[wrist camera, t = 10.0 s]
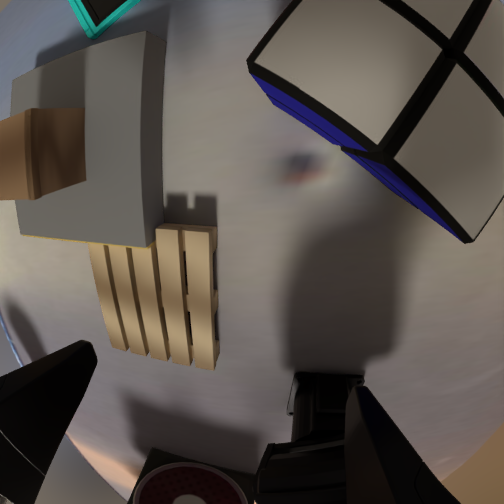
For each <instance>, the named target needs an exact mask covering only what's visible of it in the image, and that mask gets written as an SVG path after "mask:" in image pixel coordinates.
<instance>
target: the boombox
mask: <svg viewBox="0 0 504 504" xmlns="http://www.w3.org/2000/svg"><path fill="white" fill-rule="evenodd" d="M254 477H255V474H251V473H245V472H240V471H235V470H230V469H225V468H221V467H217V466H213V465H209V464H205V463H201V462H197V461H194V460H190V459H187V458H183V457H180V456H177V455H173V454H170V453H167V452H164V451H161V450H159V449H156V448H153V447H152V448H151V451H150V453H149V455H148V457H147V460H146V462H145V464H144V466H143V469H142V471H141V473H140V476H139V478H138V480H137V482H136V485H135V487H134V489H133V491H132V494H131V496H130V498H129V501H128V503H127V504H254V501H255V499H254V494H253V490H252V487H253V485H252V482H253V479H254Z"/></svg>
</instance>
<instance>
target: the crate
mask: <svg viewBox="0 0 504 504" xmlns="http://www.w3.org/2000/svg"><path fill="white" fill-rule="evenodd" d="M84 181H87V179H86V162H85V108H46V109H38V108H30V109H27V110H25V111H24V112H22V113H19V114H16V115H14V116H11V117H9V118H7V119H4V120H2V121H0V200H25V199H29V200H36V199H39V198H42V196H44V195H47V194H49V193H52V192H55V191H58V190H61V189H63V188H66V187H69V186H72V185H75V184H78V183H81V182H84Z"/></svg>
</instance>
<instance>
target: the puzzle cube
mask: <svg viewBox="0 0 504 504" xmlns="http://www.w3.org/2000/svg"><path fill="white" fill-rule="evenodd" d="M246 61H247V65H248V69H249V73H250V74H251V75H252V77H253V78H254V79H255V81H256V82H257V83H258V85H259V86H260V87H261V88H262V90H263V91H264V92H265V93H266V95H267V96H268V98H269V99H270V100H271V102H272V103H273V105H275V106H277V107H278V108H280V109H281V110H283V111H285V112H286V113H288V114H289V115H291V116H293V117H294V118H296V119H297V120H299V121H300V122H302V123H303V124H305V125H306V126H308V127H309V128H311V129H312V130H314V131H315V132H316V133H318V134H319V135H321V136H322V137H324V138H325V139H326V140H328V141H329V142H331V143H332V144H335V145H339V146H341V150H342V151H343V152H344V153H346V154H347V155H348V156H350V157H351V158H352V159H354V160H355V161H356V162H357V163H359V164H360V165H361V166H362V167H364V168H365V169H366V170H367V171H369V172H370V173H371V174H372V175H374V176H375V177H376V178H377V179H378V180H380V181H381V182H382V183H383V184H384V185H386V186H387V187H388V188H389V189H390V190H391V191H393V192H394V193H395V194H397V195H398V196H400V197H401V198H403V199H404V200H406V201H407V202H409V203H410V204H411V205H413V206H414V207H416V208H417V209H420V210H421V211H422V212H423V213H424V214H426V215H427V216H429V217H430V218H431V219H433V220H434V221H435V222H437V223H438V224H440V225H441V226H442V227H444V228H445V229H446V230H447V231H449V232H450V233H451V234H453V235H454V236H455V237H457V238H458V239H459V240H460V241H462V242H463V243H464V244H466V243H472V242H474V241H475V239H476V238H477V237H478V235H479V234H480V233H481V231H482V230H483V228H484V227H485V225H486V224H487V222H488V221H489V220H490V218H491V217H492V215H493V214H494V212H495V211H496V209H497V207H498V206H499V204H500V203H501V201H502V200H503V198H504V5H503V4H502V2H501V1H500V0H293V1H292V2H291V3H290V4H289V5H288V7H287V8H286V9H285V10H284V11H283V13H282V14H281V15H280V16H279V17H278V19H277V20H276V21H275V22H274V24H273V25H272V26H271V27H270V29H269V30H268V31H267V33H266V34H265V35H264V37H263V38H262V39H261V41H260V42H259V43H258V45H257V46H256V47H255V49H254V50H253V51H252V53H251V54H250V55H249V57H248V58H247V60H246Z"/></svg>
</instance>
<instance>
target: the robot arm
mask: <svg viewBox="0 0 504 504" xmlns="http://www.w3.org/2000/svg"><path fill="white" fill-rule="evenodd" d="M96 365H97V356H96V353H95V351H94V348H93V345H92V343H91V342H88V341H85V340H79V341H77V342H75V343H73V344H71V345H69V346H67V347H64V348H62V349H60V350H58V351H56V352H54V353H51V354H49V355H47V356H45V357H43V358H41V359H38V360H36V361H34V362H32V363H30V364H27V365H25V366H23V367H21V368H19V369H17V370H14V371H12V372H10V373H8V374H6V375H3V376H1V377H0V504H6V502H7V500H9V501H10V502H12V503H13V504H34V503H35V500H36V498H37V495H38V493H39V491H40V488H41V486H42V483H43V481H44V478H45V475H46V474H47V471H48V469H49V466H50V464H51V462H52V460H53V458H54V455H55V453H56V451H57V449H58V447H59V445H60V443H61V441H62V438H63V436H64V434H65V432H66V430H67V428H68V426H69V424H70V422H71V420H72V418H73V416H74V414H75V412H76V410H77V408H78V406H79V405H80V403H81V401H82V399H83V397H84V394H85V392H86V390H87V387H88V385H89V382H90V380H91V377H92V375H93V373H94V370H95V368H96ZM298 377H301V378H298ZM358 380H360V381H358ZM364 382H365V380H364V376H362V375H336V374H318V373H304V372H298V373H296V374H295V375H294V379H293V384H292V389H291V394H290V398H289V403H288V408H287V415H288V416H293V424H292V437H291V442H288V443H279V444H275V443H270V444H268V445H267V448H266V450H265V452H264V455H263V457H262V460H261V462H260V465H259V467H258V470H257V472H256V474H255V477H254V479H253V482H252V485H253V487H252V490H253V494H254V499H255V502H256V504H461V503H460V502H459V501H458V500H457V499H456V498H455V497H454V496H453V495H452V494H451V493H450V492H449V491H448V490H447V489H446V488H445V487H444V486H443V485H442V484H441V482H440V481H439V480H438V479H437V478H436V477H435V475H434V474H433V473H432V472H431V470H430V469H429V468H428V466H427V465H426V464H425V462H422V461H423V460H422V459H421V457H420V456H419V455H418V453H417V452H416V451H415V449H414V448H413V447H412V445H411V444H410V443H409V441H408V440H407V439H406V437H405V436H404V435H403V433H402V432H401V431H400V429H399V428H398V427H397V425H396V424H395V423H394V421H393V420H392V419H391V418H390V416H389V415H388V414H387V412H386V411H385V410H384V408H383V407H382V406H381V404H380V403H379V402H378V400H377V399H376V398H375V397H374V395H373V394H372V393H371V391H370V390H369V389H368V387H366V386H363V384H364Z"/></svg>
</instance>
